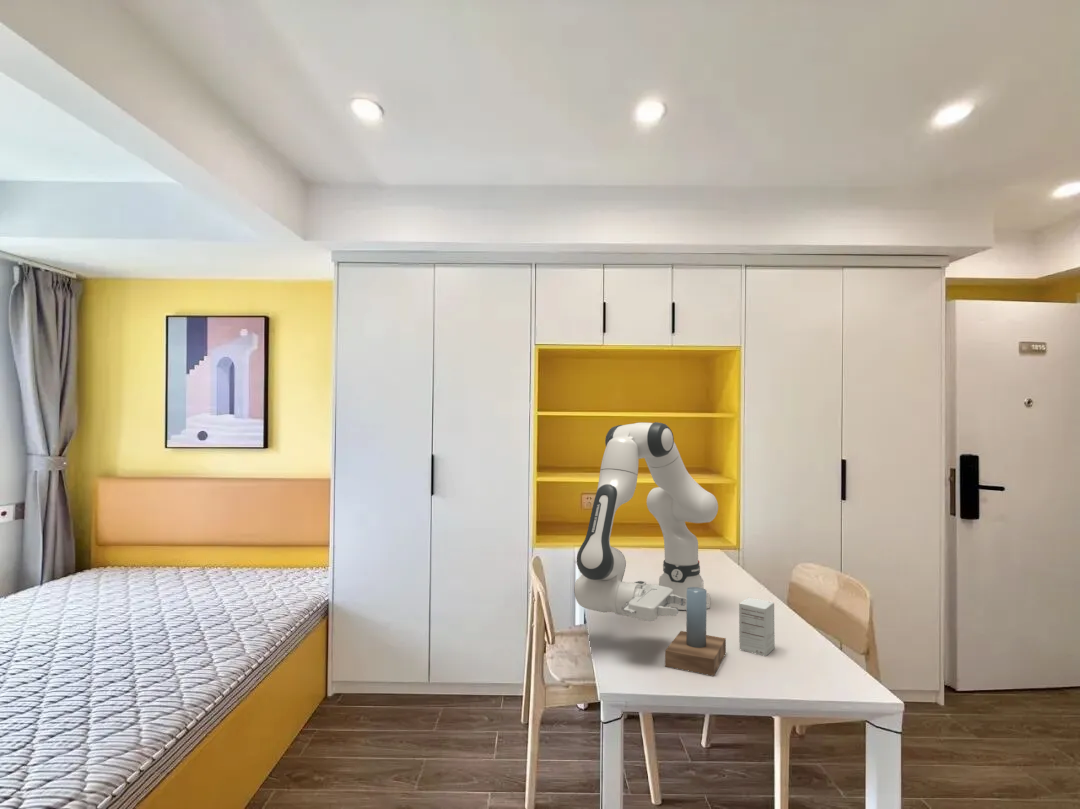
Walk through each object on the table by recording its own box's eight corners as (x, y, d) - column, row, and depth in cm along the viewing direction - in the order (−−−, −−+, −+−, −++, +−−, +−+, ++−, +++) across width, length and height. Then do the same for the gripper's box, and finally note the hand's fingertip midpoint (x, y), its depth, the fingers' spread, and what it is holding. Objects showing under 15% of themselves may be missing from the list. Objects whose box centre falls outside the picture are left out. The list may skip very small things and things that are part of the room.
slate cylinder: (688, 639, 160) (689, 586, 160) (708, 642, 158) (708, 588, 158) (684, 645, 156) (684, 590, 156) (704, 649, 153) (704, 593, 154)
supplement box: (748, 642, 169) (748, 596, 170) (775, 648, 165) (775, 601, 165) (738, 649, 164) (738, 602, 164) (766, 656, 159) (765, 608, 159)
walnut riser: (680, 645, 166) (680, 630, 167) (725, 653, 161) (725, 638, 161) (665, 666, 152) (665, 650, 152) (713, 676, 147) (713, 659, 147)
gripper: (618, 597, 156) (671, 605, 149) (642, 579, 174) (690, 585, 168) (618, 622, 156) (671, 631, 149) (642, 601, 174) (690, 608, 168)
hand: (682, 606), depth 159 cm, fingers open, 8 cm apart
